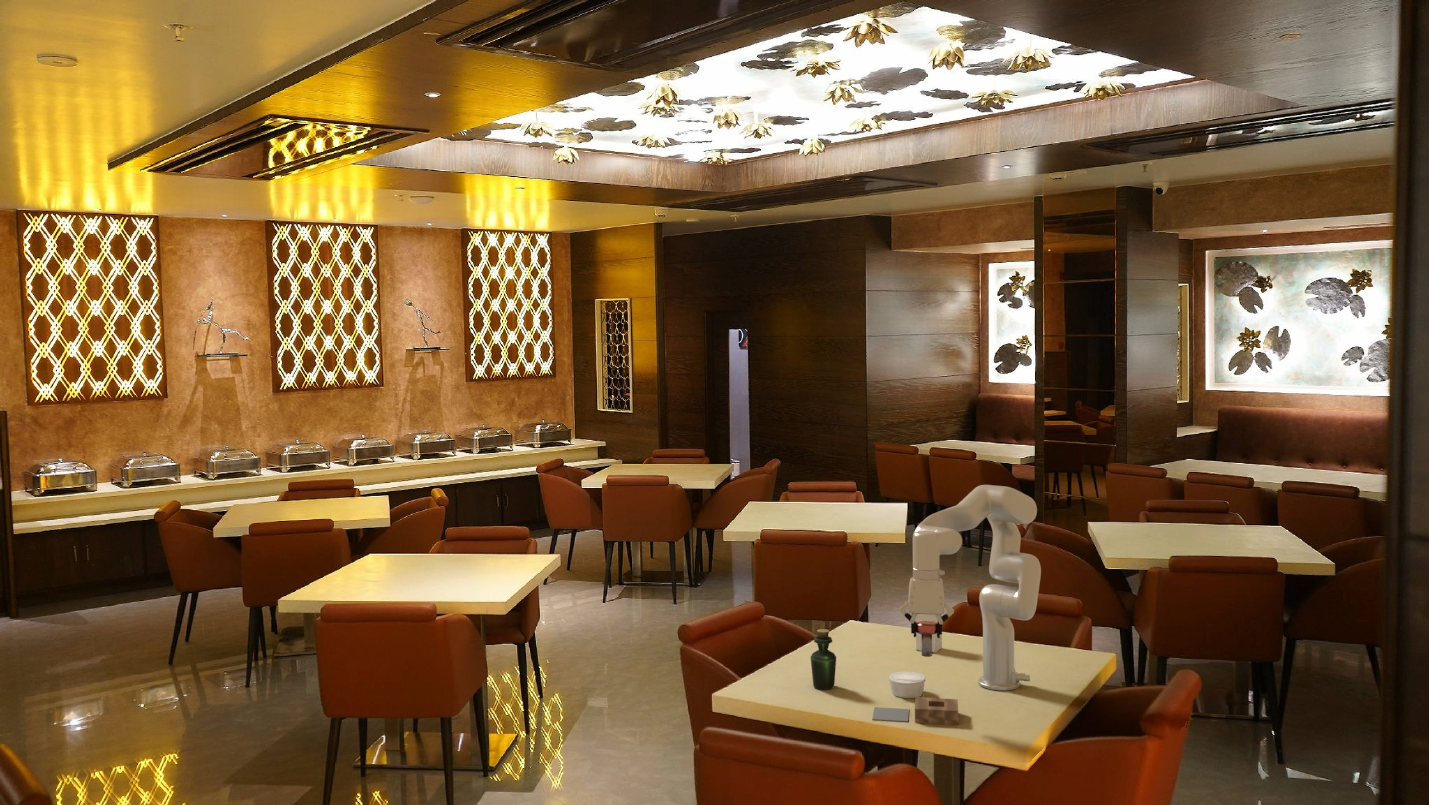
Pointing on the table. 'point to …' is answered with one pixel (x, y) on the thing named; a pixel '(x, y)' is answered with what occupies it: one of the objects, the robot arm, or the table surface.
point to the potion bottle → (823, 662)
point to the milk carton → (935, 641)
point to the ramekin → (907, 684)
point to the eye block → (936, 711)
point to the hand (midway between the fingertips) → (926, 636)
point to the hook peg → (926, 635)
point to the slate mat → (890, 714)
